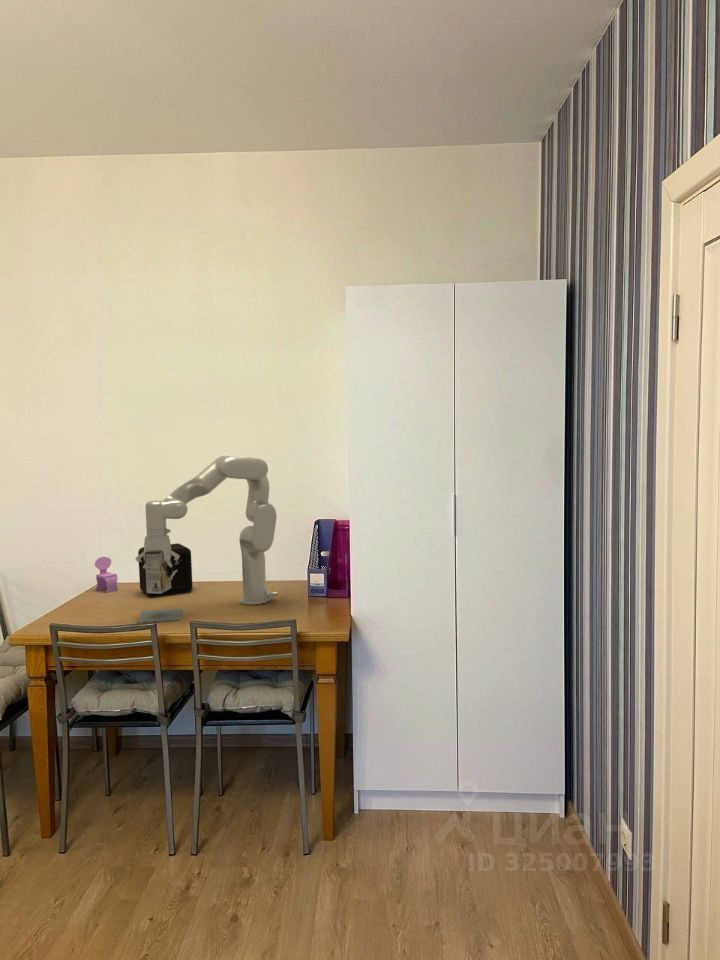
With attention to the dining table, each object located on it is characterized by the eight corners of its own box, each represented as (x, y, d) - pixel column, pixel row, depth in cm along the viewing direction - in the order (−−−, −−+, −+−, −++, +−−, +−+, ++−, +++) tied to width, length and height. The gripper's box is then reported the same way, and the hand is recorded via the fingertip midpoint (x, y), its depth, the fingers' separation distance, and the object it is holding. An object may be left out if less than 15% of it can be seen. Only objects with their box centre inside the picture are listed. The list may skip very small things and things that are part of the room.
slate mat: (182, 609, 319) (182, 608, 319) (180, 620, 304) (180, 619, 303) (141, 612, 317) (141, 610, 317) (137, 623, 301) (137, 621, 301)
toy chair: (104, 593, 349) (102, 560, 348) (93, 591, 355) (91, 558, 353) (120, 590, 356) (118, 557, 354) (109, 587, 361) (107, 555, 360)
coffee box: (156, 587, 314) (155, 547, 313) (171, 588, 313) (170, 548, 311) (146, 593, 305) (144, 552, 304) (161, 593, 304) (159, 552, 302)
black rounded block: (147, 599, 338) (145, 552, 336) (139, 592, 351) (137, 547, 349) (194, 592, 348) (192, 547, 346) (184, 586, 361) (182, 542, 358)
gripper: (180, 530, 312) (182, 574, 314) (134, 532, 309) (136, 576, 311) (178, 533, 304) (180, 578, 306) (132, 535, 302) (134, 580, 304)
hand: (158, 577), depth 309 cm, fingers closed on coffee box, 8 cm apart
